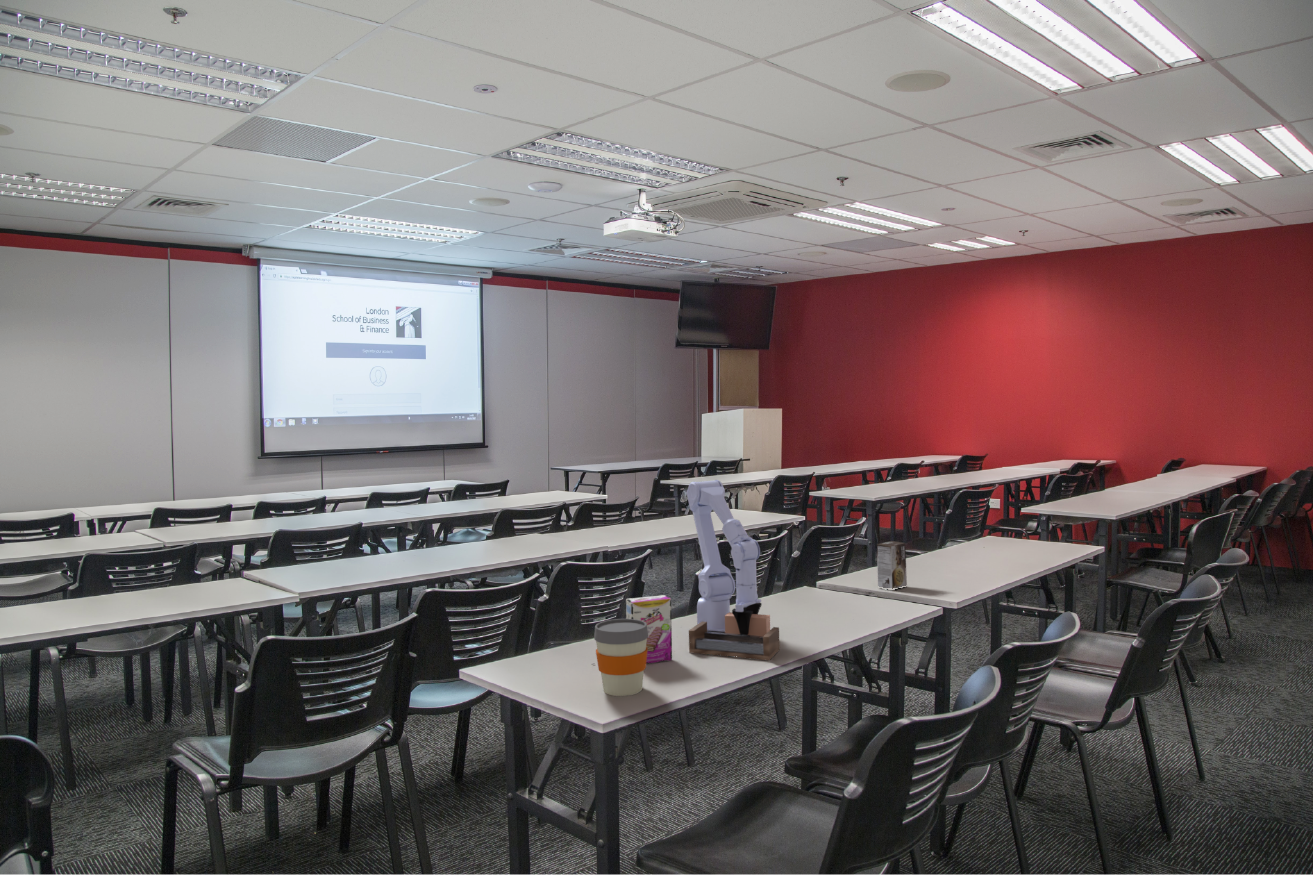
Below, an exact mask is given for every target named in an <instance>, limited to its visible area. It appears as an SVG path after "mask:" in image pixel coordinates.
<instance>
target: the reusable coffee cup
mask: <svg viewBox="0 0 1313 875" xmlns="http://www.w3.org/2000/svg"><path fill="white" fill-rule="evenodd" d="M593 638H594V641H595V642H596V644H595V645H596V649H595V654H596V655H595V656H596V661H597V662H596V663H597V666H598V667H597V668H598V671H599V672H600V675H601V682H602V683H601V684H602V688H603V692H604V693H605V694H607V695H609V696H615V697H628V696H632V695H633V696H634V695H636V694H639V693H640V692H642V691H643V690H642V689H643V683H644V682H643V681H644V672H645V670H646V668H647V664H646V661H647V650H648V648H647V647H646V642H647V638H648V630H647V624H646V622H644V621H641V620H636V619H626V618H614V619H607V620H602V621H601V622H597V623H596V624H595V626H594V636H593Z"/></svg>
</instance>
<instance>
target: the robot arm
mask: <svg viewBox="0 0 1313 875" xmlns="http://www.w3.org/2000/svg"><path fill="white" fill-rule="evenodd" d="M725 495H726V490H725V488H724V485H723V483H722V482H721V480H719V479H714V480H702V481H691V482H690V483H689V484H688V487H687V490H686V496H687V500H688V505H689V510H690V511H691V512H692V515H693V520H694V524H695V529H696V534H697V538H698V544H699V548H700V553H701V558H702V562H703V566H704V567H703V569H702V570H701V571H700V572H699V574H698V575H697V578H698V592H699V594H700V596H701V597H700V598H699V599H698V601H697V604H696V622H697V624H699V623H700V622H702V621H703V622H707V632H719V633H725V615H726V614H727V613H729V612H732V613H733V615H734V617H735V619H736V621H737V624H738V628H739V632H740V634H743V635H748V633H749V624H750V618H751V615H752V614H759V612H760V610H761V608H762V599H761V598H759V596H758V589H757V587H758V586H757V584H758V582H757V560H758V559H759V558H760V556H761V548H760V544H759V543H758V542H759V541H757V540H756V539H753V538H752V536H751V537H750V536H749V535H748V533H747V531H746V530H745V527H744V525H743V524H742V523H741V521H740V520H739V519H736V518H734V516H733V514H732V511H731V509H730V507H729V505H728V503H727V500H726V499H725ZM712 511H714V513H715V514H716V516H717V517H718V519H719V520H720V521H721V524H722V529H721V531H722V533H723V534H724V536H725V538H726V541H727V542H728V543H729V545H730V547H731V550H730V554H731V558H732V560H733V566H734V568H735V579H734V578H733V575H732V573H731V569H730V568H729V567H727V566H725V564H723V563H722V560H721V558H722V557H721V554H720V550H719V546H718V542H717V536H716V534H715V533H716V532H715V527H714V524H713V519H712ZM735 592H736V598H735V607H734V608H732V610H731V606H730V602H731V601H730V599H731V598H732V595H734V593H735ZM697 624H696V625H697Z"/></svg>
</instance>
